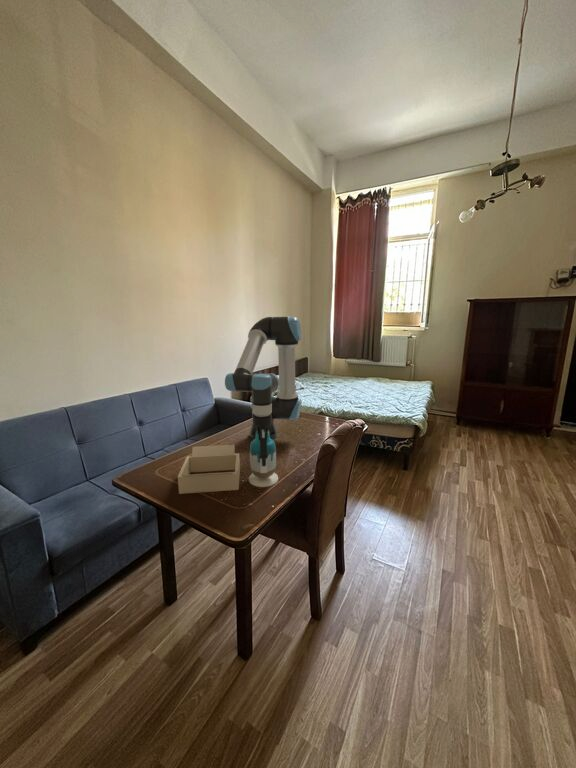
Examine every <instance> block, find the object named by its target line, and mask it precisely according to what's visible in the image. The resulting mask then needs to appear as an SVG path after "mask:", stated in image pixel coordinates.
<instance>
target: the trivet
mask: <svg viewBox="0 0 576 768" xmlns="http://www.w3.org/2000/svg"><path fill="white" fill-rule="evenodd" d="M278 481H279V476H278V474H277V473H275V472H274V473H273V474H272V475H271V476H270V477H267V478H258V477H256V476H255V475H254V474H253V473H251V474H250V475H249V477H248V483H250V485H251V486H253V487H257V488H268V487H272V486H274V485H275V484H277V482H278Z"/></svg>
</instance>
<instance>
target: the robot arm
mask: <svg viewBox="0 0 576 768" xmlns="http://www.w3.org/2000/svg"><path fill="white" fill-rule="evenodd" d="M300 322H301V321H300V320H299V319H298V318H297V317H295V316H266V317H263V318H262V319H261V318H260V319H259V320H258V321H257V322H255V324H253V326H251V328H250V329H249V332H248V335H247V342H246V344H245V346H244V349H243V350H242V353H241V355H240V358H239V360H238V363H237V364H236V365H237V366H236V367H235V370H234V372H231V373H227V374H226V375H225V378H224V386H225V389H226V390H227V391H229V392H236V393H237V392H242V393H243V392H244V393H251V406H250V408H251V413H252V414H251V418H252V423H251V427H250V431H249V438H250V439H252V440H254V439H255V438H256V431H257V430H258V435H259V440H260V455H261V456H260V457H259V458H260V473H268V472H267V458H268V456H267V433H268V431H269V435H270V439H272V440H274V439H275V438H277V436H278V431H277V428H276V425H275V420H285V421H286V420H287V421H296V420H298V419H299V417H300V413H301V408H302V399H301V398H300V397H299V393H297V392H296V347H297V346H298V344H299V342H300V341H301V340H302V326H301V323H300ZM267 341H274V343H275V346H277V348H278V350H277V351H278V375H277V374H276V373H274V372H273V373H272V372H270V373H256V374H255V373H254V374H253V372H254V370H255V367H256V364H257V362H258V360H259V357H260V354H261V351H262V349H263V346H264V345H265V344H267ZM277 389H278V393H277V394H276V396H275V397H274V394H273V393H274V392H276V391H277Z"/></svg>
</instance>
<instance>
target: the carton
mask: <svg viewBox="0 0 576 768" xmlns="http://www.w3.org/2000/svg"><path fill="white" fill-rule="evenodd" d="M235 450H236V449H235V444H222V445H221V444H220V445H217V444H216V445H202V446H201V445H199V446H196V445H195V446H192V451H191V455H188V456H186V458H185V459H184V462H183V464H182V467H180V471H179V473H178V474H177V485H178V494H179V495H182V494H195V493H196V494H197V493H211V492H222V491H223V492H224V491H225V492H226V491H239V489H240V473H241V472H240V471H241V462H240V459H241V458H240V453H235ZM220 471H222V472H220ZM223 471H225V472H223ZM226 471H227V472H226ZM204 472H207V473H204ZM191 473H193V474H191Z"/></svg>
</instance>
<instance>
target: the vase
mask: <svg viewBox="0 0 576 768" xmlns="http://www.w3.org/2000/svg"><path fill="white" fill-rule="evenodd" d="M260 456H261V455H260V440H259V435H258V430H257V431H256V438H255V439H252V440H251V442H250V446H249V465H250V470H251V472H252V473H251V474H254V475H255V476H256V477H258V478H267V477H270V476H271V475H272V474H273V473H275V471H276V468H277V448H276V442H275V440H274V439H270V435H269V431H268V433H267V456H268V458H267V472H268V473H260V458H259V457H260Z"/></svg>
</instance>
